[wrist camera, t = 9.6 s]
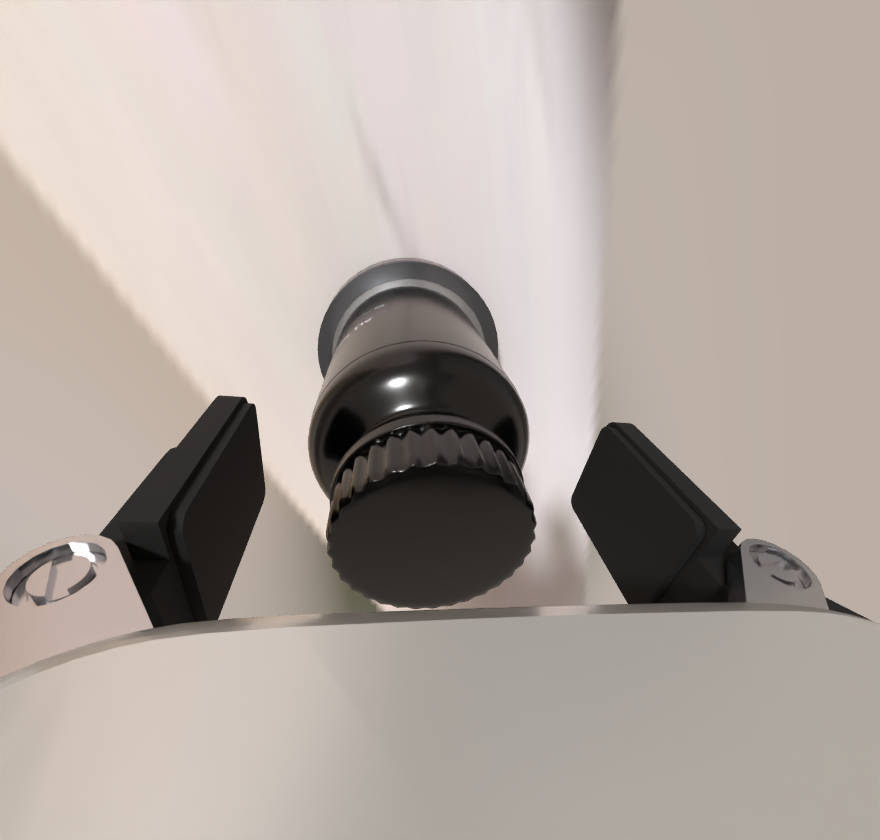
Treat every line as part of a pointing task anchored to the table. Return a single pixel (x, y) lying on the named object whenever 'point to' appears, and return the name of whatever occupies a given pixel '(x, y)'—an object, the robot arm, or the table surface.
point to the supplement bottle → (420, 455)
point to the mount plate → (397, 276)
